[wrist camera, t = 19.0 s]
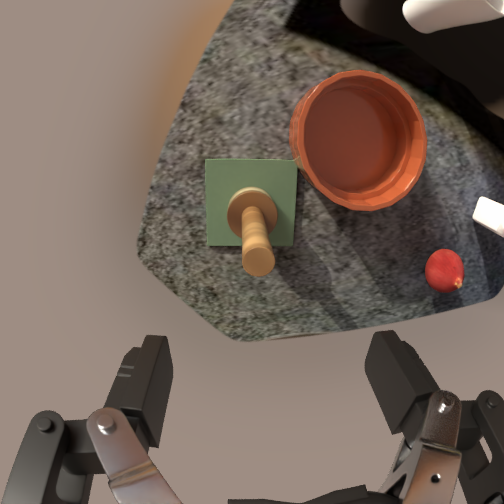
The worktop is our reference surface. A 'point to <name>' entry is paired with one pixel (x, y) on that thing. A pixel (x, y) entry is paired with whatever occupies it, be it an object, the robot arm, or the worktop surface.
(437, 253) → the onion
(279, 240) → the mat
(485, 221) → the pepper shaker
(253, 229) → the dish brush
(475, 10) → the drinking glass
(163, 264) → the worktop surface
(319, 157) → the bowl
